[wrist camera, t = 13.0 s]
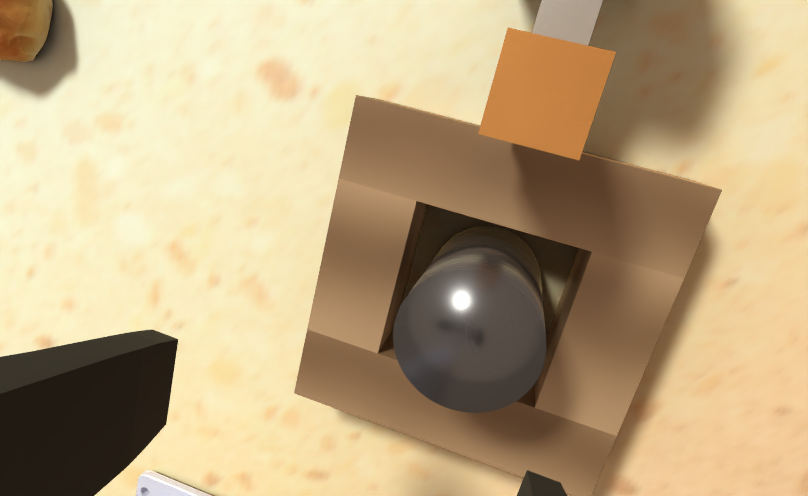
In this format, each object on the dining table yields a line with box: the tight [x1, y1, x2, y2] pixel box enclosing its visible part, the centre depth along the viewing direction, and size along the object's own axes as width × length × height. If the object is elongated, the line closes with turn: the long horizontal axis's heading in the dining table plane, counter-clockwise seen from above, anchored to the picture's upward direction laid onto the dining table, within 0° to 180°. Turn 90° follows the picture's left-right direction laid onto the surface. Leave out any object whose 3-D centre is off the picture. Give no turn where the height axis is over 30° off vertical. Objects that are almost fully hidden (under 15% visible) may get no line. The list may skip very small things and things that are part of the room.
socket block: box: [294, 95, 722, 496], centre depth 18 cm, size 11×11×2 cm
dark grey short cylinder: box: [393, 226, 546, 413], centre depth 16 cm, size 4×4×6 cm
